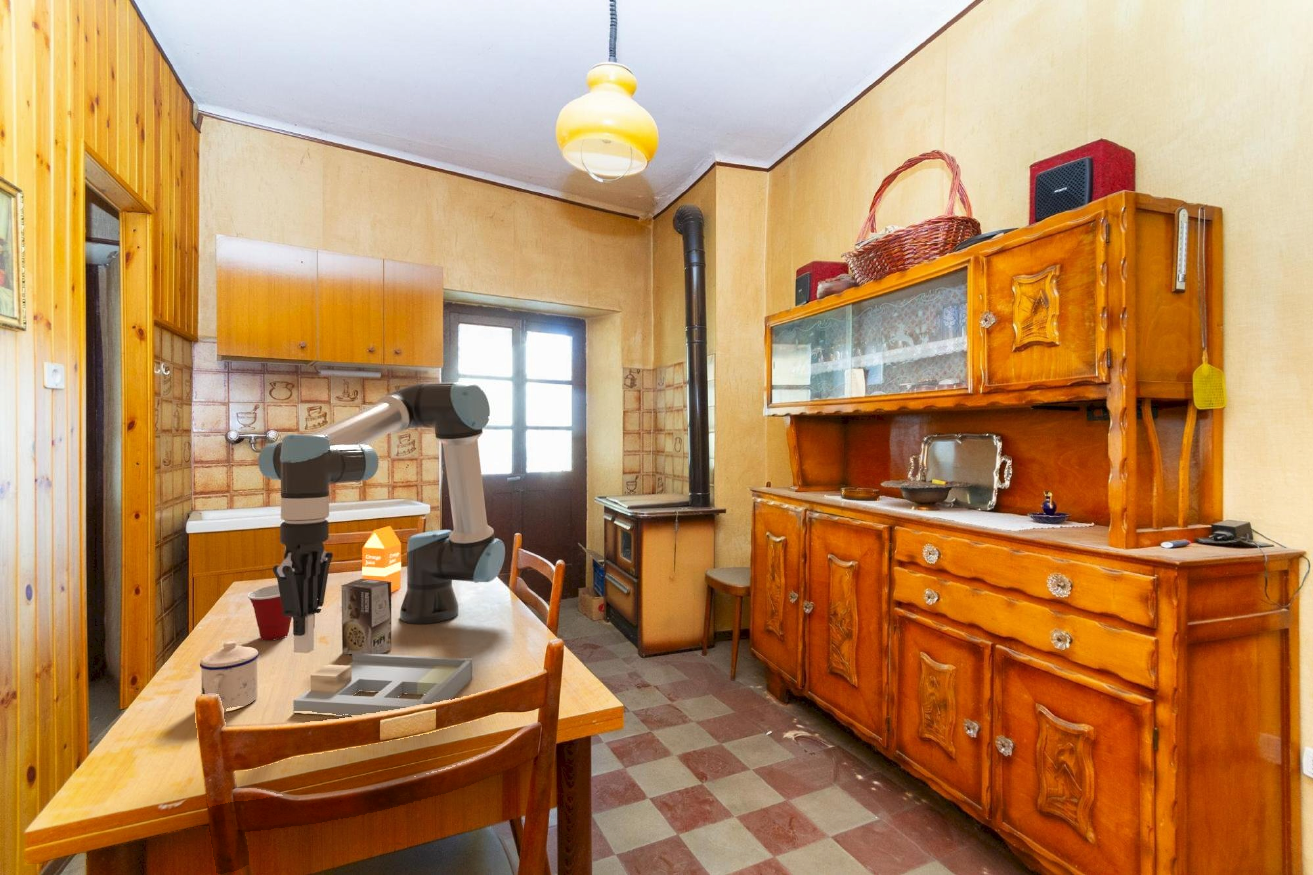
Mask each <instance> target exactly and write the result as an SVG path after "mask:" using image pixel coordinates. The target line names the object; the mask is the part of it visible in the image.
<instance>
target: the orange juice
mask: <svg viewBox="0 0 1313 875" xmlns="http://www.w3.org/2000/svg"><path fill="white" fill-rule="evenodd" d="M361 554H362V557H361V558H362V560H361V562H362V564H361V565H362V567H361V569H362V572H361V574H362V578H361V579H371V580H380V581H390V582H391V593H393V592H395V591H397V590H400V589H401V587H402V582H401V581H402V580H401V579H402V542H401V541H400V539H399V538H398V536H397V535H396V533H395V531H394V529H393V528H392V526H391V525H388V526H385V527H382V528H378V529H377V528H376V529H374V530H373V532H371V535H369V537H368V539H367V540H366V542H365V544H364V545H363V547H362V553H361Z"/></svg>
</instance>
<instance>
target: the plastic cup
mask: <svg viewBox="0 0 1313 875" xmlns="http://www.w3.org/2000/svg"><path fill="white" fill-rule="evenodd" d="M246 596H247V598H248V599H249V600H250V602H251V605H252V608H253V611H254V615H255V620H256V625H257V628H258V631H259V637H260V639H263V640H262V641H266V640H270V641H275V640H274V639H277V640H280V638H281V639H283V638H282V637H284V638H286V637H288V636H289V633H290V629H291V628H290V627H291V622H292V620H293V617H288V616H284V615H283V609H282V603H281V598H280V592H279V586H278V583H277V584H271V585H267V586H263V587H260V588H259V587H258V588H257V589H254V590H252V591H250V592H248V594H246ZM285 636H286V637H285Z"/></svg>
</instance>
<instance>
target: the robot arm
mask: <svg viewBox="0 0 1313 875" xmlns="http://www.w3.org/2000/svg"><path fill="white" fill-rule="evenodd" d="M490 415H491V409H490V402H489V400H488V397H487V395H486V393H485V392H484V390H483V389H482V388H481V387H480V386H479V385H477V384H475V383H471V382H462V381H457V382H456V381H455V382H454V381H453V382H421V383H416V384H412V385H408V386H406V387H403V388H400V389H398V390H395V391H393V392H391V393H388V394H386V395H383V396H381V397H379V398H378V400H377V401H376V402H375V404H374V405H372V406H369V407H367V408H365V409H362V410H360V411H358V412H355V413H353V414H351V415H349V416H346V417H344V418H342V419H340V420H338V421H335V422H333V423H331V424H329V425H326V426H324V427H321V428H320V429H318V430H315V431H313V432H311V433H308V434H286V435H285V436H284V437H283V438H282V441H278V442H272V443H268V444H266V445H265V446H264V447H263V448H262V449H261V450H260V452H259V454H258V457H257V465H258V469H259V471H260V473H261V474H262V475H263V476H264V477H265V478H267V479H270V480H276V481H277V480H278V481H280V519H281V520H283V522H281V524H280V525H279V528H280V533H279V534H280V535H279V541H280V544H282V545H284V546H285V551H284V554H283V559H284V560H283V561H282V562H281V564H279V565H277V564H276V565H274V566H273V568H272V572H273V574H274V576H275V577H276V580H277V584H278V586H279V592H280V598H281V603H282V609H283V615H284V616H288V617H292V622H293V623H292V628H293V629H292V630H293V631H292V634H293V653H297V654H309V653H311V652H313V651H314V650H315V649H314V646H315V645H314V642H315V641H314V638H315V637H314V636H315V634H314V633H315V632H314V631H315V626H316V625H315V620H316V619H315V618H316V617H315V614H320V613H321V611H322V608H319V607H323V606H324V602H325V597H326V590H327V584H328V577H329V571H330V564H331V563H332V559H333V558H334V554H333V552H327V551H326V550H325V546H324V542H327V541H328V540H329V536H330V535H329V532H330V531H329V530H330V529H329V526H330V524H329V521H328V520H327V518H329V516H330V485H335V484H346V483H357V484H358V483H360V482H364V481H368V480H369V479H371V478H373V477H374V476H375V475H376V473H377V471H378V469H379V463H380V462H379V456H378V454H377V452H376V450H375V449H374V448H373V447H371V446H369V444H371V443H374V442H375V441H377V440H379V439H380V438H382V437H385V436H387V435H388V434H390V433H393V434H394V433H395V434H396V433H397V434H398V433H401V432H403V431H406V430H408V429H417V428H418V429H419V428H420V429H422V428H423V429H425V428H426V429H434V434H435V435H434V436H435V439H436V440H438V441H439V442H440V443H442V447H443V454H444V462H445V469H446V470H445V472H446V478H447V486H448V494H449V501H450V510H451V517H452V524H453V530H451V529H438V530H431V531H426V532H421V533H420V532H419V533H417V534H413V535H411V536H410V537H409V538H408V540H407V546H406V547H407V549H406V573H407V574H406V575H407V576H406V586H407V588H406V592H405V595H404V598H403V600H402V604H401V607H400V611H399V618H400V620H401V621H403V622H405V623H407V624H415V625H416V624H418V625H419V624H434V623H439V622H444V621H448V620H450V619H452V618H455V617H456V616H458V614H459V603H458V602H459V601H458V600H457V597H456V593H455V591H454V588H453V581H459V582H473V583H475V584H476V583H477V584H478V583H490V582H492V581H494V580H495V579H496V578H497V577H498V575H499V574H500V572H501V570H502V567H503V566H504V561H505V558H506V557H505V556H506V547H505V543H504V542H503V540H501V539H500V538H495V530H494V528H493V527H491V526H490V525H488V520H487V512H486V504H485V492H484V485H483V476H482V468H481V467H482V466H481V459H480V450H479V441H478V440H479V438H480V437H481V436H482V435H483V428H485V427H486V426H487V425H488V422H489V420H490V418H489V417H490Z"/></svg>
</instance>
